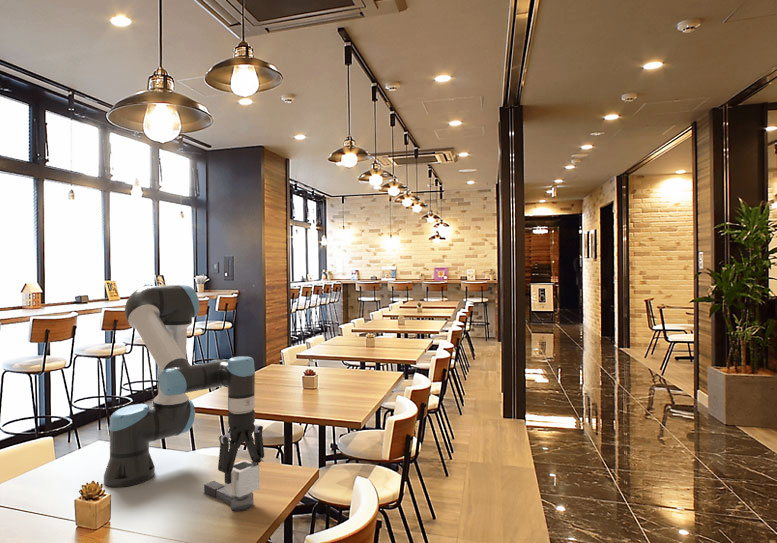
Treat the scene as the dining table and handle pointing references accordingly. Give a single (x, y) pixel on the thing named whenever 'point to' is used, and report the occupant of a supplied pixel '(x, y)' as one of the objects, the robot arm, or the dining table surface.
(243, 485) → the socket
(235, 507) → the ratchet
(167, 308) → the robot arm
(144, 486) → the dining table surface
